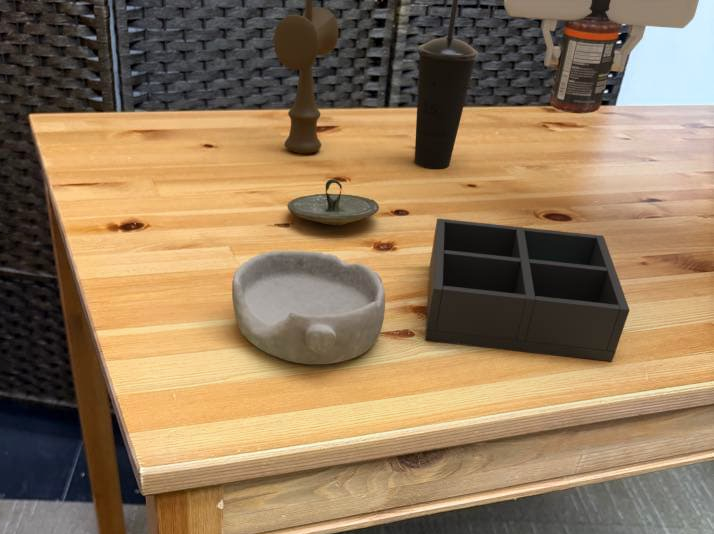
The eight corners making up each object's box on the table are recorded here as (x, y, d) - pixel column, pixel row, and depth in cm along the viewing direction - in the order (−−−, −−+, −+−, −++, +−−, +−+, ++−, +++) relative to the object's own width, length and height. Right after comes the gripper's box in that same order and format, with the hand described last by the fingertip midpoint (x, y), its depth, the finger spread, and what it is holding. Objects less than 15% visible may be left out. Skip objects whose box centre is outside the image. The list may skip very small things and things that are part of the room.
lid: (333, 257, 90) (348, 216, 86) (267, 211, 92) (278, 169, 89) (384, 235, 97) (399, 195, 93) (321, 192, 99) (333, 152, 96)
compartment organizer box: (589, 282, 85) (603, 235, 82) (612, 361, 73) (629, 309, 69) (429, 265, 86) (437, 218, 83) (425, 340, 74) (433, 288, 71)
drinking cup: (411, 151, 116) (433, -18, 102) (464, 159, 114) (493, -11, 101) (397, 166, 110) (419, -10, 97) (453, 175, 108) (482, -3, 95)
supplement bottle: (554, 98, 99) (578, -14, 91) (603, 106, 97) (633, -7, 89) (542, 109, 94) (567, -7, 87) (593, 118, 93) (623, 0, 85)
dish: (339, 387, 67) (344, 332, 64) (200, 340, 72) (198, 286, 68) (410, 320, 77) (417, 269, 73) (283, 282, 81) (285, 233, 78)
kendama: (269, 156, 110) (273, -21, 97) (294, 137, 117) (301, -30, 104) (311, 163, 109) (320, -15, 96) (334, 144, 116) (345, -25, 103)
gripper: (518, -89, 82) (492, 67, 91) (726, -76, 81) (679, 81, 90) (515, -93, 87) (490, 55, 96) (711, -81, 85) (668, 68, 94)
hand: (583, 67), depth 93 cm, fingers closed on supplement bottle, 6 cm apart
